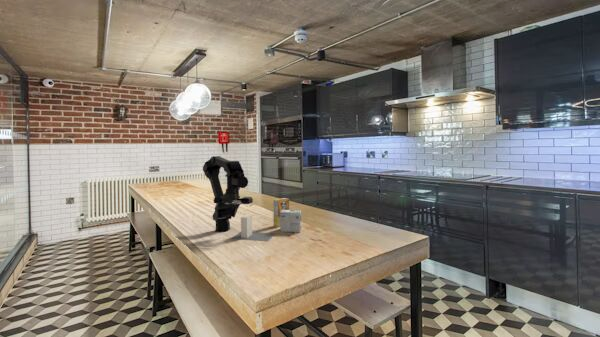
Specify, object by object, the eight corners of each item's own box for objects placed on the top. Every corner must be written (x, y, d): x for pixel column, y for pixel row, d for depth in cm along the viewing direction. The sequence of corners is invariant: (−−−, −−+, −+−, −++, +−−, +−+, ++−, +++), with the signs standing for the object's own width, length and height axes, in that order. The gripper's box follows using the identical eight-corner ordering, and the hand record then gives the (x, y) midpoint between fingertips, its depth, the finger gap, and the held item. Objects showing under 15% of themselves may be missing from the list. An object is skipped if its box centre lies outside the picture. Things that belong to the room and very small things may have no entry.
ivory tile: (240, 237, 159) (240, 217, 159) (246, 233, 166) (245, 214, 165) (247, 237, 159) (246, 217, 158) (252, 234, 166) (251, 214, 165)
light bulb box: (301, 229, 176) (301, 209, 175) (300, 232, 169) (300, 212, 168) (282, 229, 177) (281, 209, 176) (280, 232, 170) (279, 211, 170)
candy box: (284, 223, 188) (283, 197, 187) (289, 225, 186) (289, 198, 185) (273, 226, 182) (272, 199, 181) (278, 228, 179) (278, 200, 178)
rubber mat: (229, 239, 157) (229, 239, 157) (241, 232, 171) (241, 231, 170) (267, 242, 153) (267, 241, 153) (276, 234, 167) (275, 233, 166)
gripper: (207, 187, 156) (208, 219, 157) (244, 188, 152) (245, 221, 153) (218, 185, 167) (219, 215, 168) (252, 185, 163) (253, 216, 164)
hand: (233, 217), depth 163 cm, fingers closed
